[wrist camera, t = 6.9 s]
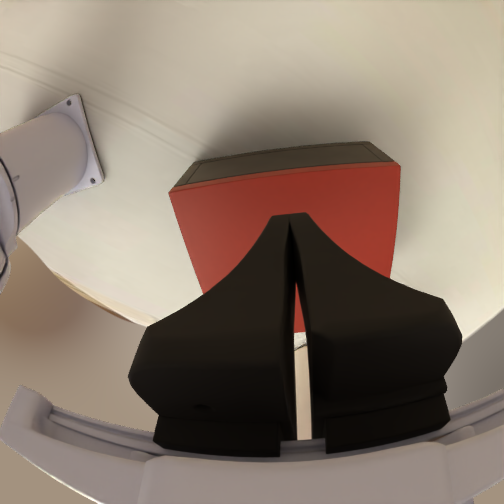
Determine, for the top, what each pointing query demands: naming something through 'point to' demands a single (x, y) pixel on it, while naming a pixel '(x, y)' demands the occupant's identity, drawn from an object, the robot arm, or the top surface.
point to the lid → (287, 202)
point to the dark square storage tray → (282, 160)
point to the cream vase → (302, 394)
